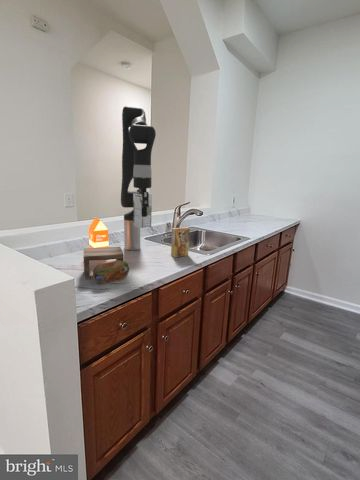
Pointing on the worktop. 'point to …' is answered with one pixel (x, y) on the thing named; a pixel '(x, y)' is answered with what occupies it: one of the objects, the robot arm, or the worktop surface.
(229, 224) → the worktop surface
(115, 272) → the tin
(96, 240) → the orange juice
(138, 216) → the syrup box
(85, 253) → the walnut shelf
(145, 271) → the worktop surface
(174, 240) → the candy box
